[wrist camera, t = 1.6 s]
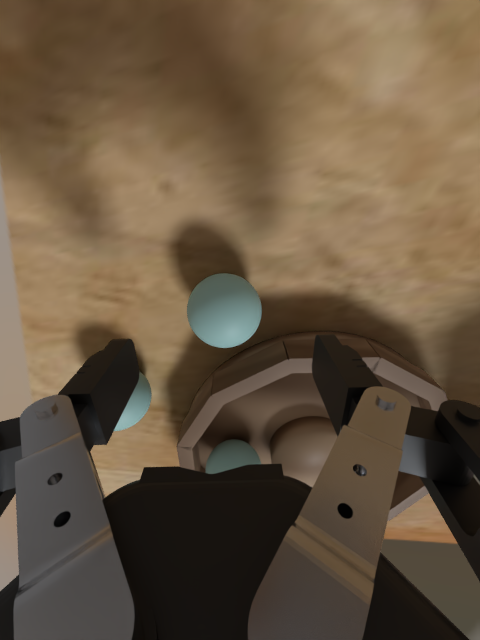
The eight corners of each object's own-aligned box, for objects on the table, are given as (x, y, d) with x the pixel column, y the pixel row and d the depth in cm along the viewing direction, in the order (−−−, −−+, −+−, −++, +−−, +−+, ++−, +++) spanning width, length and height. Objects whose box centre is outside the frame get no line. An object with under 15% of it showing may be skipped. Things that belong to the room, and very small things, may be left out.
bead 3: (206, 427, 20) (199, 480, 17) (260, 426, 20) (265, 479, 17) (209, 462, 22) (204, 517, 18) (259, 461, 22) (263, 516, 18)
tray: (173, 333, 18) (161, 360, 15) (465, 328, 18) (506, 355, 15) (197, 504, 26) (192, 540, 24) (393, 500, 26) (411, 536, 24)
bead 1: (93, 354, 18) (59, 396, 15) (153, 353, 18) (133, 394, 15) (107, 399, 20) (79, 446, 17) (161, 398, 20) (145, 445, 17)
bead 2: (189, 264, 16) (175, 289, 12) (259, 263, 16) (266, 288, 12) (195, 326, 17) (185, 363, 14) (258, 325, 17) (263, 362, 14)
